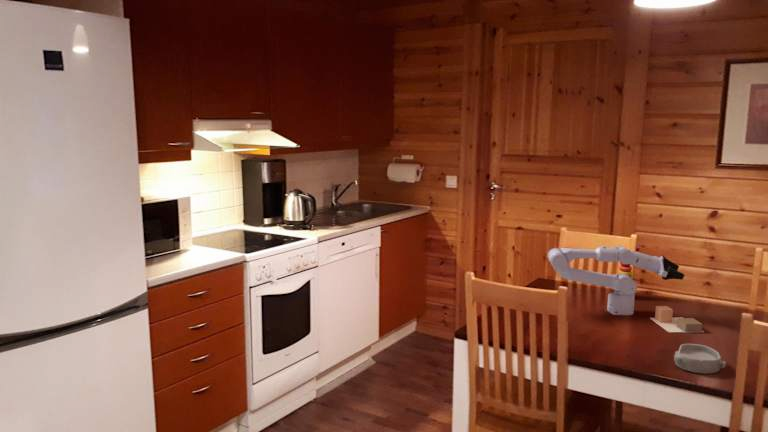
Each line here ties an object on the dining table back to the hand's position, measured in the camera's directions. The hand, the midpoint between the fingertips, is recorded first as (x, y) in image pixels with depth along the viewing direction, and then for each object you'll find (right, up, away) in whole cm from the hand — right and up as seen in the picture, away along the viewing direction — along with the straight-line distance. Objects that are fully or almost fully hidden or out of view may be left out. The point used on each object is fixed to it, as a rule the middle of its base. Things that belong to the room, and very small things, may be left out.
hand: (680, 272), depth 227 cm
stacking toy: (-10, -14, +28) cm, 33 cm away
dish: (-16, -26, -41) cm, 51 cm away
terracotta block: (-9, -18, -4) cm, 20 cm away
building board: (-6, -20, -8) cm, 22 cm away
